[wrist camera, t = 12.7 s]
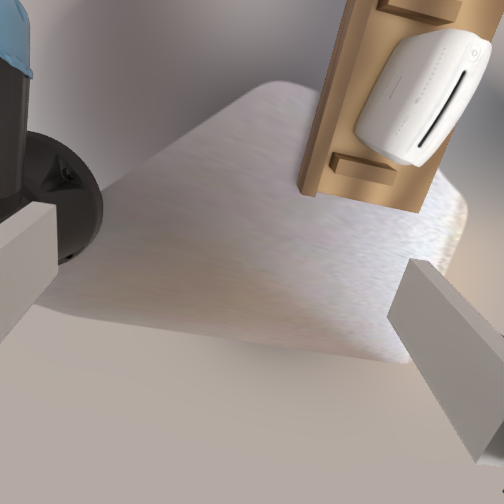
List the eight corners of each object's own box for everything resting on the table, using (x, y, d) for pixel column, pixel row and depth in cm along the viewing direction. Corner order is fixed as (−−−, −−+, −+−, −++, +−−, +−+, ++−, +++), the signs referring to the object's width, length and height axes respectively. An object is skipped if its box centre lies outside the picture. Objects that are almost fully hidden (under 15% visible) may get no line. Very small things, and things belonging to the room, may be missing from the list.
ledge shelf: (296, 183, 44) (302, 197, 39) (361, -53, 35) (378, -71, 30) (413, 209, 45) (431, 224, 41) (505, -12, 36) (541, -24, 32)
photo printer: (399, 30, 36) (467, 13, 25) (438, 50, 37) (520, 43, 26) (345, 135, 40) (382, 161, 29) (381, 152, 41) (431, 183, 30)
